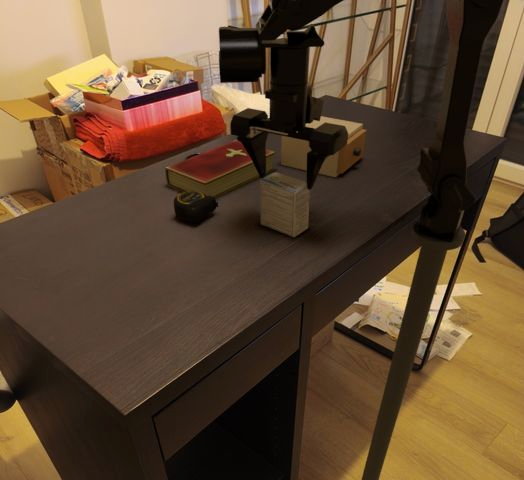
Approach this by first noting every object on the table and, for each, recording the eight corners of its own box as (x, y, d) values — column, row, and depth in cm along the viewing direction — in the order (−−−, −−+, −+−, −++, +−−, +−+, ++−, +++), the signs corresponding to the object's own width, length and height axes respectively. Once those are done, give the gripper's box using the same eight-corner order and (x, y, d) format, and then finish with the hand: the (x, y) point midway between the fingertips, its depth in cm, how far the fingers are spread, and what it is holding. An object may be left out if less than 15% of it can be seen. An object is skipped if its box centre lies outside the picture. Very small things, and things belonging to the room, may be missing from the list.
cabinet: (358, 158, 111) (363, 123, 106) (335, 177, 103) (339, 141, 98) (306, 147, 116) (308, 113, 111) (280, 164, 108) (281, 129, 103)
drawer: (367, 157, 109) (371, 130, 105) (347, 174, 102) (350, 147, 98) (314, 145, 114) (316, 120, 110) (291, 161, 107) (292, 135, 103)
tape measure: (195, 228, 87) (193, 209, 84) (167, 218, 90) (165, 199, 87) (218, 214, 91) (217, 195, 88) (191, 204, 94) (190, 186, 91)
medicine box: (308, 229, 86) (311, 183, 81) (293, 239, 84) (295, 192, 78) (275, 216, 90) (275, 170, 84) (259, 224, 88) (259, 178, 82)
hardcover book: (167, 185, 100) (164, 165, 97) (235, 156, 112) (234, 137, 109) (206, 202, 94) (204, 181, 92) (274, 169, 106) (275, 150, 103)
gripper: (368, 77, 72) (355, 177, 83) (263, 62, 79) (263, 156, 90) (337, 95, 65) (327, 202, 76) (225, 77, 73) (230, 177, 83)
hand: (285, 182), depth 81 cm, fingers open, 9 cm apart
